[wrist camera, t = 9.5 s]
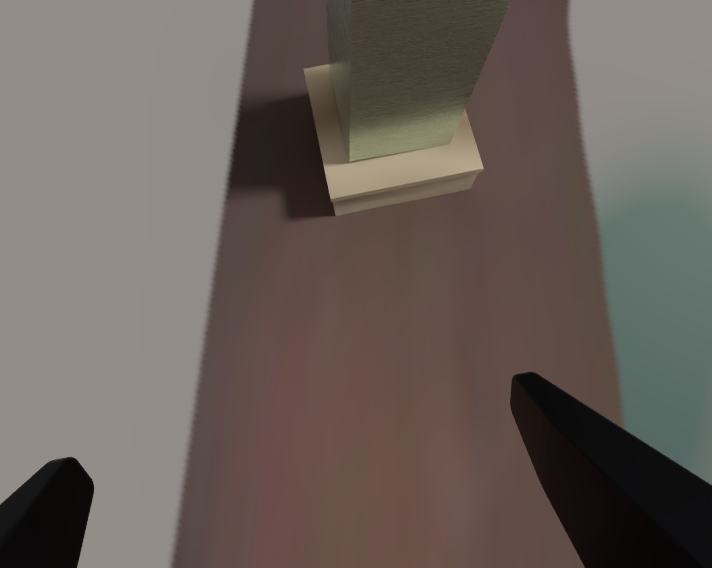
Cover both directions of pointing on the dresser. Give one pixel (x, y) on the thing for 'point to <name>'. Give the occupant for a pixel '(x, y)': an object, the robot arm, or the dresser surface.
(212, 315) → the dresser surface
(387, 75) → the green lidded box
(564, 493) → the robot arm
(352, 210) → the jewelry box
